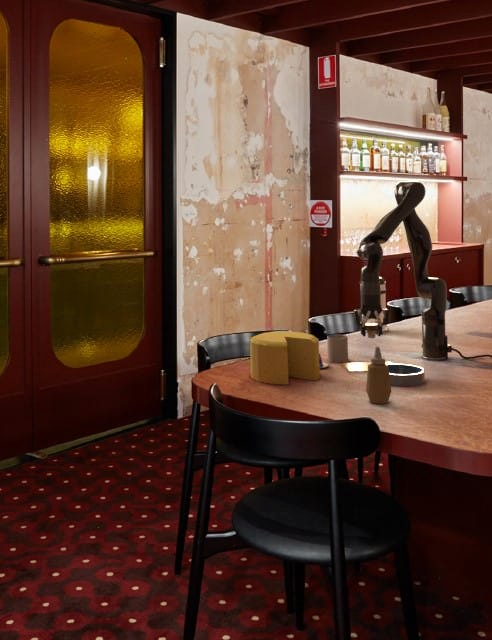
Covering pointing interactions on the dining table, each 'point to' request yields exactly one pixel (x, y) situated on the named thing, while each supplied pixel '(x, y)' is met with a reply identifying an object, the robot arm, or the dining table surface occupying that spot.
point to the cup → (337, 348)
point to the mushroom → (371, 329)
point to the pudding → (321, 364)
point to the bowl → (405, 375)
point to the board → (359, 366)
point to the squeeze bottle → (378, 379)
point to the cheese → (284, 357)
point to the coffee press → (383, 305)
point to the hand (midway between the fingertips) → (371, 335)
